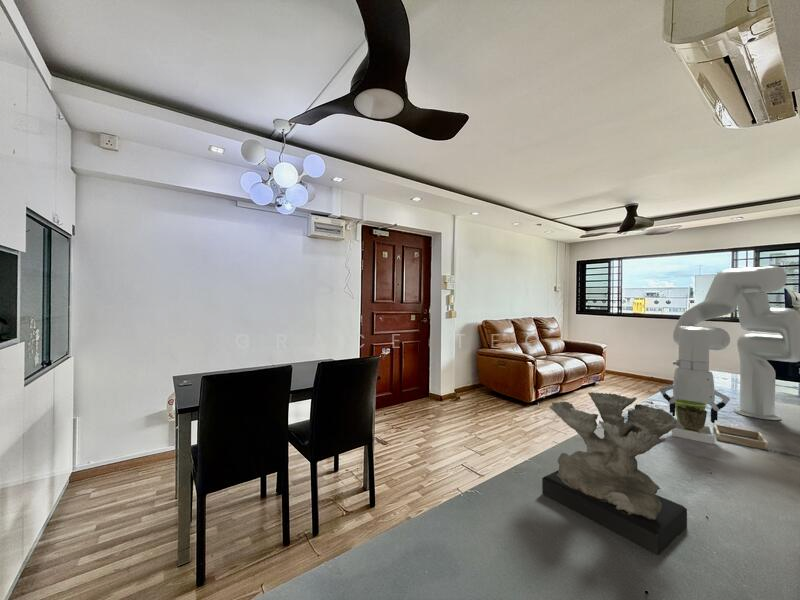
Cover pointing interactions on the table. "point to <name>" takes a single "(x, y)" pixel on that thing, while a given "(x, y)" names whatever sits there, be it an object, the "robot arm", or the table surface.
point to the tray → (695, 434)
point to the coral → (617, 472)
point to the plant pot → (687, 403)
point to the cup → (691, 418)
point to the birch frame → (739, 440)
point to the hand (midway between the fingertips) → (692, 418)
